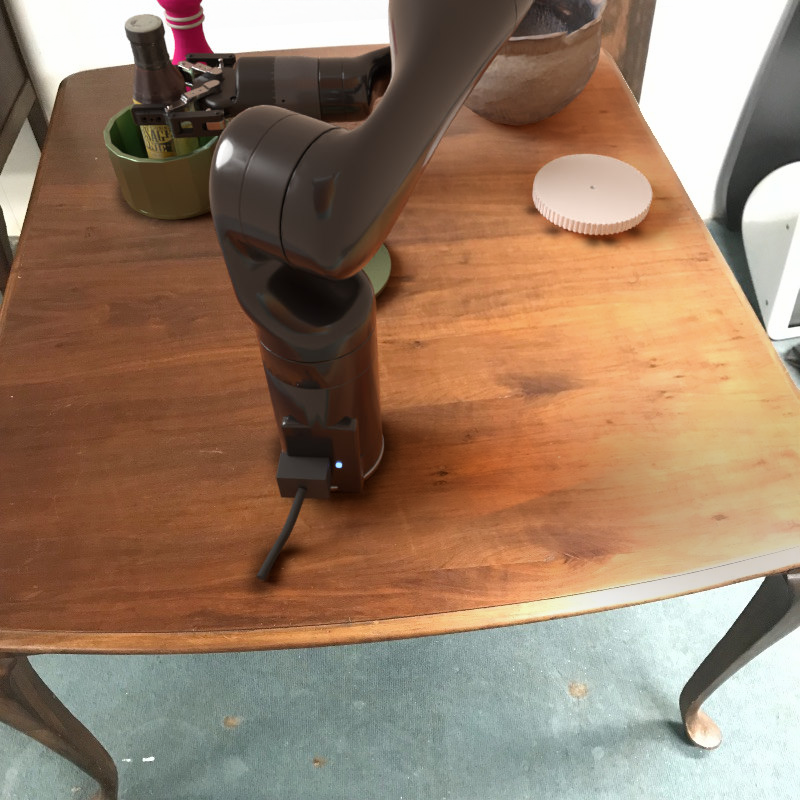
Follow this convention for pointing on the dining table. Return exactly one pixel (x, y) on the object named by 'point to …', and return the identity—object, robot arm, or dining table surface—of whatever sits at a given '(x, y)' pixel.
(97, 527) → the dining table surface
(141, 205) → the pot
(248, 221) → the robot arm
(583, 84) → the ceramic bowl
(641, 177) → the plastic lid
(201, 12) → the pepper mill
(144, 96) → the sauce bottle
